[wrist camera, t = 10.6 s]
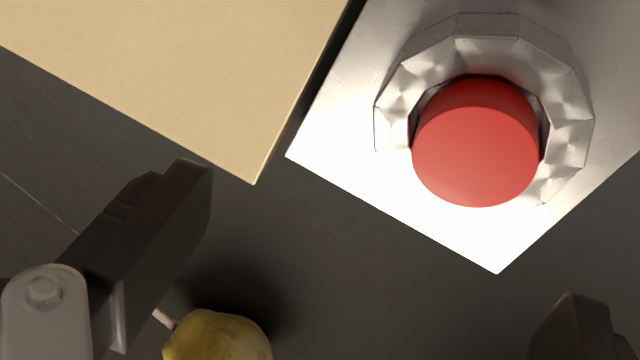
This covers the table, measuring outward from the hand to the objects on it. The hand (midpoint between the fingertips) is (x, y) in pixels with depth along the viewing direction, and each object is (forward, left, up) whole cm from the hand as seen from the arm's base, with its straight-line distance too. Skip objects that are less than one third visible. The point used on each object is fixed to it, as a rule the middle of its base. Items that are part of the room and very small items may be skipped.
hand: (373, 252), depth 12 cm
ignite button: (0, +2, -7) cm, 7 cm away
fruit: (+22, -2, -11) cm, 24 cm away
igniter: (0, +2, -10) cm, 11 cm away
